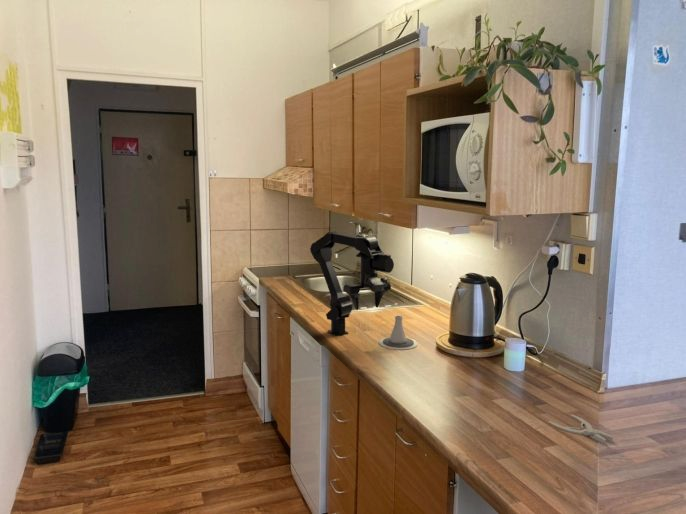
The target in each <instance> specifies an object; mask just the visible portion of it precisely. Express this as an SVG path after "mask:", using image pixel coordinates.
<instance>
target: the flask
mask: <svg viewBox="0 0 686 514" xmlns="http://www.w3.org/2000/svg"><path fill="white" fill-rule="evenodd" d="M394 319H395V320H394V325H393V328H392V331H391V333H390V336H389V337H390V338H389V342H392V343H398V344H402V343H407V340H406V338H407V337H406V334H405V333H406V332H405V330H404V327H403V319H404V316H402V315H394Z"/></svg>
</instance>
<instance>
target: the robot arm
mask: <svg viewBox="0 0 686 514" xmlns="http://www.w3.org/2000/svg"><path fill="white" fill-rule="evenodd" d="M336 244H340V245H345V246H348V247H352V248H354V249H355V250H356V251H358V253H357V254H356V255H355V257H357V258H360V270H359V271H358V274H359V277H360V279H359V281H358V284H355V283H345V285H343V290H342V288H341V287H342V286H341V285H340V281H339V279H338V276H337V274H336V270H335V267H334V265H333V263H332V257H333V251H332V249H333V248H334V247H335V245H336ZM309 250H310V253H311V256H312V259H314V261H316V262H317V263H318V265H319V266H320V268H321V271H322V274H323V278H324V280H325V283H326V286H327V289H328V291H329V294H330V296H331V297H330V301H329V302H330V303H329V304H330V305H329V306H330V310H329V311H327V313H326V314H325V316H326V319H327V320H328V321H330V329H328V330H327V333H329V334H331V335H334V336H341V335H346V334H347V335H348V334H349V331H347V330H346V318H349V317H350V315H351V313H352V310H353V306H354V308H355V310H356V311H358V310H359V303H360V302H359V301H360V300H359V297H360V295H361V293H360V292H361V291H366V290H370V291H371V292H373V293H374V304H375V308H379V305H380V303H381V301H382V298H383V295H384V294H386V293H388V292H389V291H390V290H391V289H392V284H391V283H390V282H389V281H388V278H387V277H380V278H378V272H382V273H389V274H390V273H391V272H392V271H393V270H394V266H395V263H394V260H393V258H392V257H391V254H387V253H386V254H385V253H384V251H383V250H382V248H381V246H380V244H379V241H378V239H377V238H376V236H355V235H353V234H346V233H342V232H337V231H328V232H327V233H325V234H324V235H323V236H322V237H320V238H319V239H317V240H316V241H315V242H313V243H312V244H311V245H310V248H309ZM376 271H377V272H376ZM343 292H345V293H346V294H347V295H345V294H344V293H343Z"/></svg>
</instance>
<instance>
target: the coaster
mask: <svg viewBox="0 0 686 514" xmlns="http://www.w3.org/2000/svg"><path fill="white" fill-rule="evenodd" d="M389 338H390V336H389V337H384V338H381V339H380V340H379V341H378V344H379V345H380V346H381V347H382V348H385V349H390V350H395V351H396V350H397V351H398V350H399V351H403V350H404V351H405V350H406V351H407V350H413V349H415V348H417V347H418V344H419V342H417V340H415V339H412V338H409V337H406V340H407V343H402V344H398V343H392V342H389Z"/></svg>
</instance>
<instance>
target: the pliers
mask: <svg viewBox="0 0 686 514" xmlns="http://www.w3.org/2000/svg"><path fill="white" fill-rule="evenodd" d="M570 417H572V418H574V419H575V420H577V421H578V422H580V428H579V427H574V426H563V425H561V424H559V423H556V422H552V421H550V420H548V423H547V424H549V425H551V426H552V427H553V426H554V427H555V428H558V429H560V430H562V431H566V432H569V433H572V434H577V435H578V434H579V435H584V436H589V437H590V438H592V439H593V440H595V441H597V442H599V443H601V444H603V445H607V444H606V443H607V441H608V442H610V443H611V442H613V440H614V439H613V436H612V435H611V434H608V433H606V432H604V431H601V430H599V429H595V428H593V426H592V424H590V423H589V421H586V420H585V419H583V418H582V417H579V416H577V415H574V414H570ZM583 425H584V426H583ZM584 427H585V428H584Z"/></svg>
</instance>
